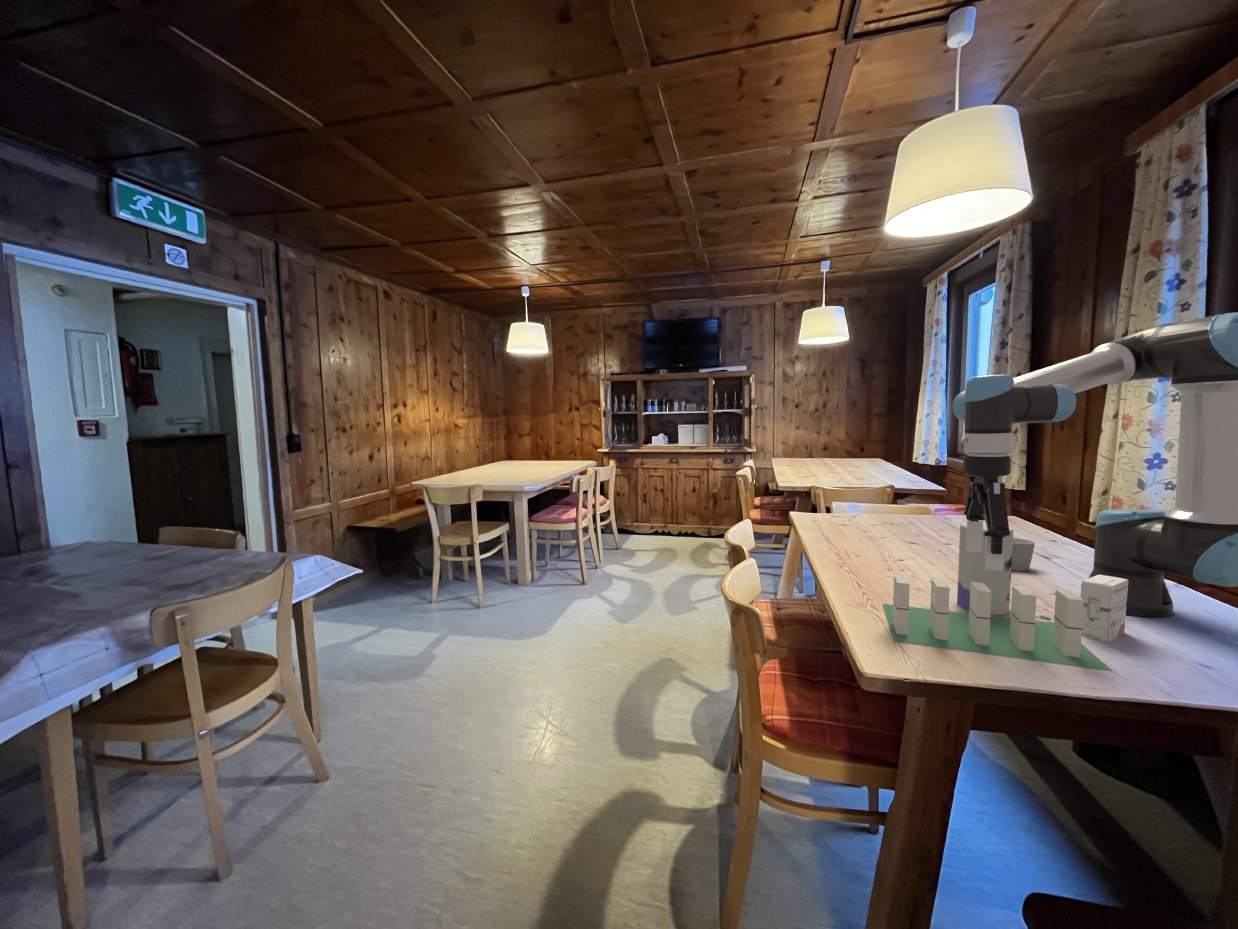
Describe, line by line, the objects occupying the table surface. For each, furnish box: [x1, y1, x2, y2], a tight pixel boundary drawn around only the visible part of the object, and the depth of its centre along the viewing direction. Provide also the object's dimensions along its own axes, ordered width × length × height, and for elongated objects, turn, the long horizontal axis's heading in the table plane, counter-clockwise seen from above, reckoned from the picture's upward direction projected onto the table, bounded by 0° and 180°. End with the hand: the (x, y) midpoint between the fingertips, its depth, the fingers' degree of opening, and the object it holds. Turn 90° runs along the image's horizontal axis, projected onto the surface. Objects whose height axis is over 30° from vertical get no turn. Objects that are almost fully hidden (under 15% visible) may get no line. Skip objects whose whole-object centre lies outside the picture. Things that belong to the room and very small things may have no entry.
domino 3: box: [968, 582, 992, 646], centre depth 100 cm, size 2×6×11 cm, turn 157°
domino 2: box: [929, 578, 950, 640], centre depth 102 cm, size 2×6×11 cm, turn 157°
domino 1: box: [892, 574, 911, 635], centre depth 105 cm, size 2×6×11 cm, turn 157°
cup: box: [1011, 537, 1036, 572], centre depth 145 cm, size 8×10×8 cm
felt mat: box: [882, 603, 1113, 672], centre depth 103 cm, size 34×22×1 cm, turn 67°
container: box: [956, 521, 1014, 616], centre depth 116 cm, size 10×10×20 cm
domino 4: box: [1010, 585, 1037, 651], centre depth 97 cm, size 2×6×11 cm, turn 157°
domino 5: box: [1053, 589, 1084, 658], centre depth 94 cm, size 2×6×11 cm, turn 157°
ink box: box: [1080, 575, 1128, 643], centre depth 101 cm, size 9×5×12 cm, turn 118°
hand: (983, 560), depth 99 cm, fingers open, 13 cm apart
